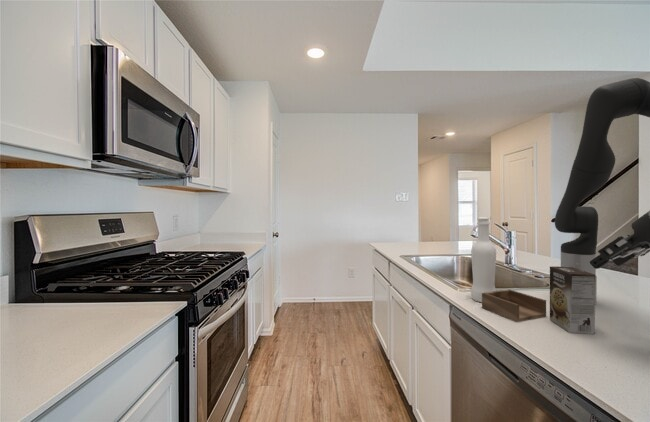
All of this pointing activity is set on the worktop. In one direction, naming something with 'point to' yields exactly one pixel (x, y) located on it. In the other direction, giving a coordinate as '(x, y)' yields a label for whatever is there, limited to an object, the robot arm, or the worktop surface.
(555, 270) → the coffee box
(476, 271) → the bottle
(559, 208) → the robot arm
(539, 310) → the holder
